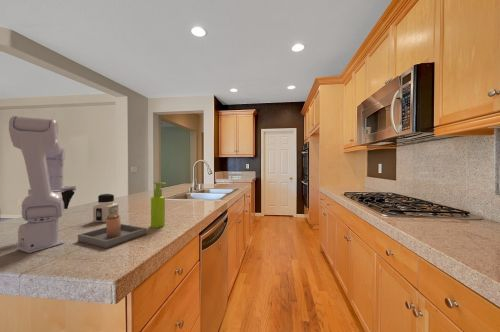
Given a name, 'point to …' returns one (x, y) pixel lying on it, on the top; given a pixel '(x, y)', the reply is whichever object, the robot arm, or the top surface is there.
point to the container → (104, 208)
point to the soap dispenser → (158, 207)
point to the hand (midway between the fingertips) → (53, 210)
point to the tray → (102, 241)
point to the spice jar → (113, 226)
